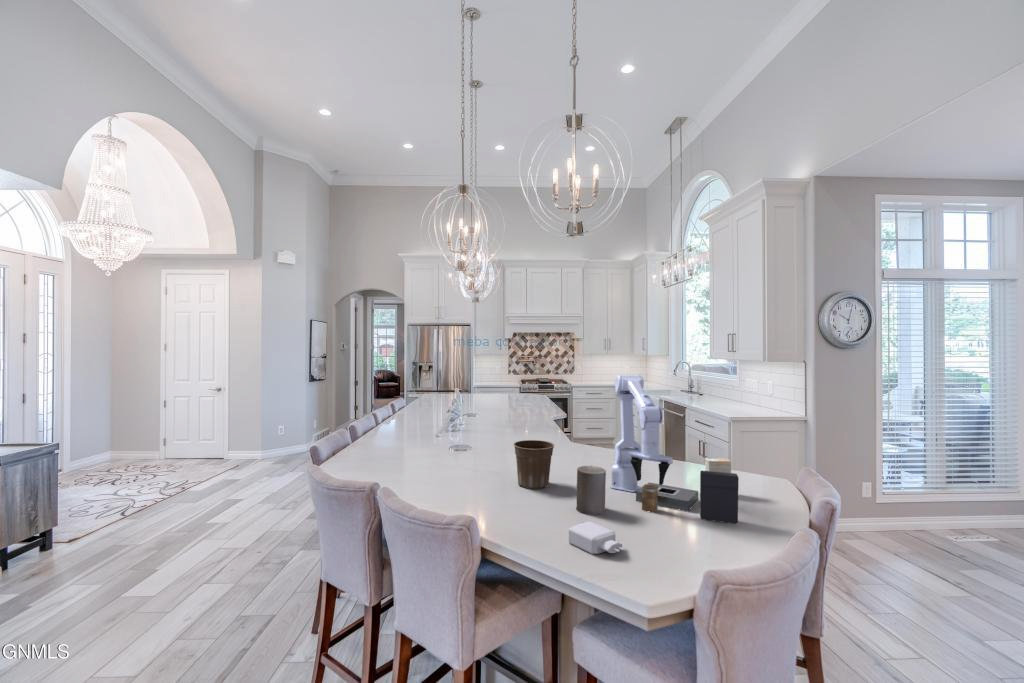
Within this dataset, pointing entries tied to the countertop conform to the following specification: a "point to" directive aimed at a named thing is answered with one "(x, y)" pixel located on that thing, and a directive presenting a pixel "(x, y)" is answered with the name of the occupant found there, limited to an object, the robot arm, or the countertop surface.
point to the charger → (594, 538)
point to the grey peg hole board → (673, 497)
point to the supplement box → (718, 465)
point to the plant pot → (533, 463)
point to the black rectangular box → (719, 496)
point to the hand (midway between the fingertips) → (650, 482)
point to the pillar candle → (591, 490)
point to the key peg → (649, 497)
